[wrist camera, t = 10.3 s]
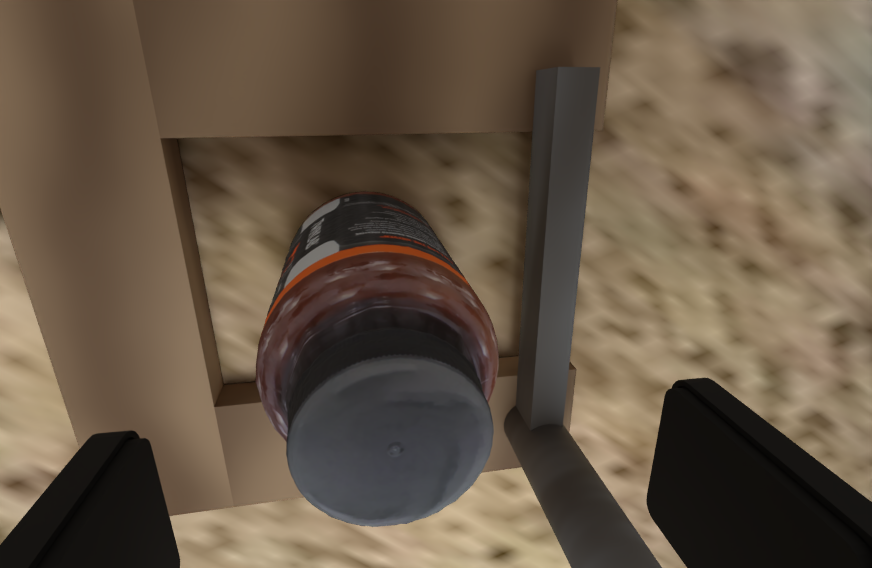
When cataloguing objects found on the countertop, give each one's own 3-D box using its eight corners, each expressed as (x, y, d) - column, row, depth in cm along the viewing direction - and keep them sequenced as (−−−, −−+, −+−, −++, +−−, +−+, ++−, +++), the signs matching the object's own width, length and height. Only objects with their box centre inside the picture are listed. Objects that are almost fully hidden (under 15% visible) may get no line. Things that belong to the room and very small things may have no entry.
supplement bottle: (272, 201, 18) (176, 339, 8) (428, 176, 19) (538, 270, 8) (308, 342, 20) (273, 598, 10) (446, 314, 21) (551, 525, 10)
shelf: (637, -16, 18) (1137, -217, 7) (582, 435, 25) (777, 706, 14) (-43, -42, 14) (-1481, -580, 3) (121, 495, 21) (-123, 928, 10)
